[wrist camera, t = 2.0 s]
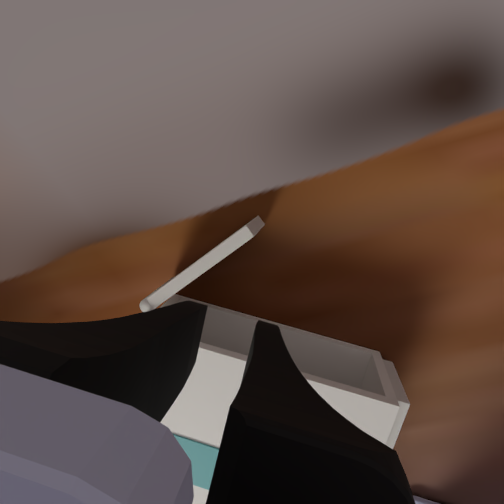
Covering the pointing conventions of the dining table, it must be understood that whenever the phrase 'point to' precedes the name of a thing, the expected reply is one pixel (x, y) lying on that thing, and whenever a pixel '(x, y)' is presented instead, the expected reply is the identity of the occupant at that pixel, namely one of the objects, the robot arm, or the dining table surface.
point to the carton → (309, 364)
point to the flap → (202, 265)
